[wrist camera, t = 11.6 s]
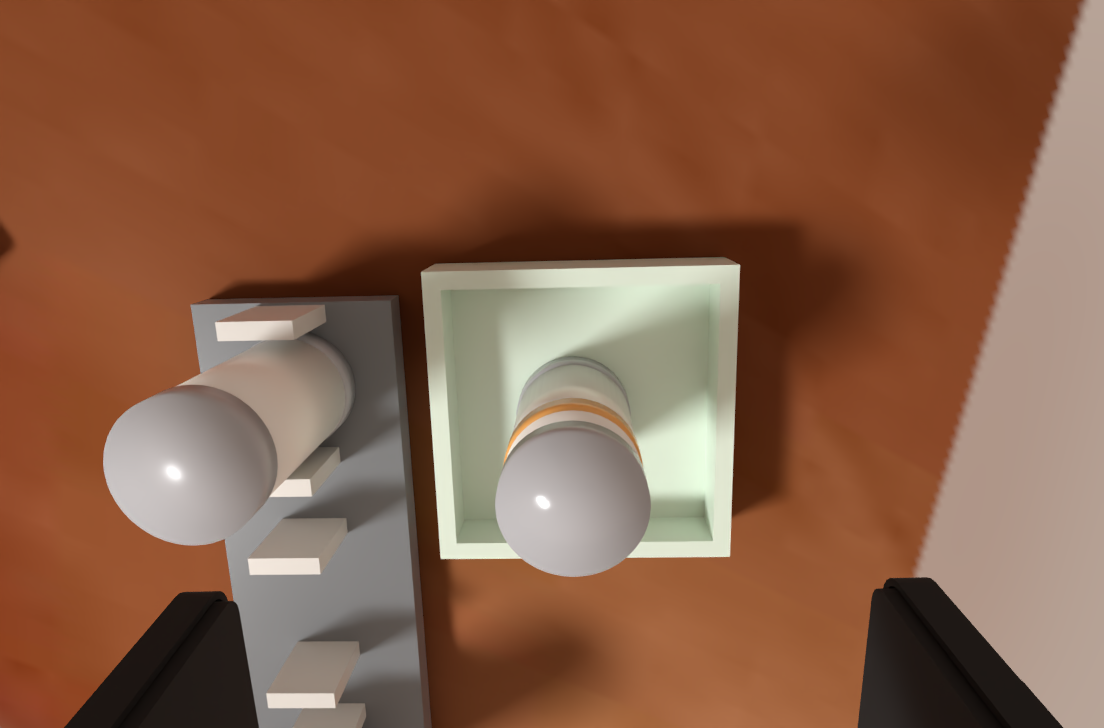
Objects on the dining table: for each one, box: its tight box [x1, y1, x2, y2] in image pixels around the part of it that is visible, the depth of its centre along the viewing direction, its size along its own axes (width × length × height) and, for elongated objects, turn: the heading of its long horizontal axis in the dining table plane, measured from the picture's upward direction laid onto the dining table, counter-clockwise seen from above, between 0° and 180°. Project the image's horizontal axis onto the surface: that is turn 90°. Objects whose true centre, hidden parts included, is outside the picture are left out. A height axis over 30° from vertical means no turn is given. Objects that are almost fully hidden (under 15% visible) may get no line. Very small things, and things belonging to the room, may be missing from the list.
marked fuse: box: [495, 356, 651, 577], centre depth 23 cm, size 4×4×8 cm
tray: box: [421, 257, 740, 559], centre depth 26 cm, size 10×10×2 cm
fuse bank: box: [103, 295, 432, 728], centre depth 25 cm, size 22×7×9 cm, turn 1°
